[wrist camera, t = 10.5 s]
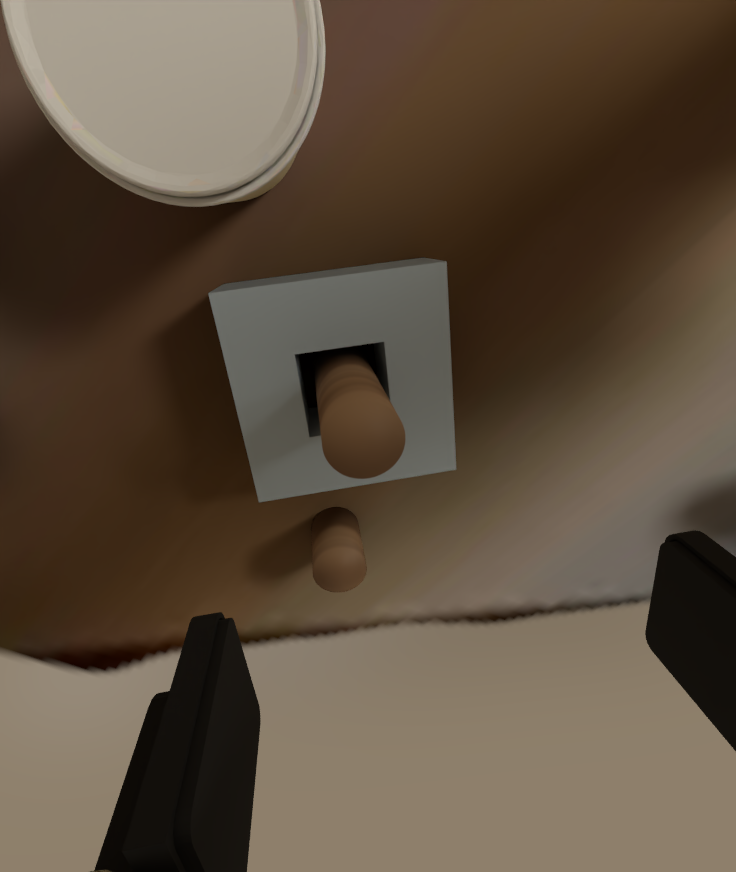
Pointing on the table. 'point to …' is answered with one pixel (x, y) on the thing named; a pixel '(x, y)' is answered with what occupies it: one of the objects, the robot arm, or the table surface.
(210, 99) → the coffee cup
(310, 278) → the hole block
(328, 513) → the short dowel
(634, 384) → the table surface
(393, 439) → the long dowel
